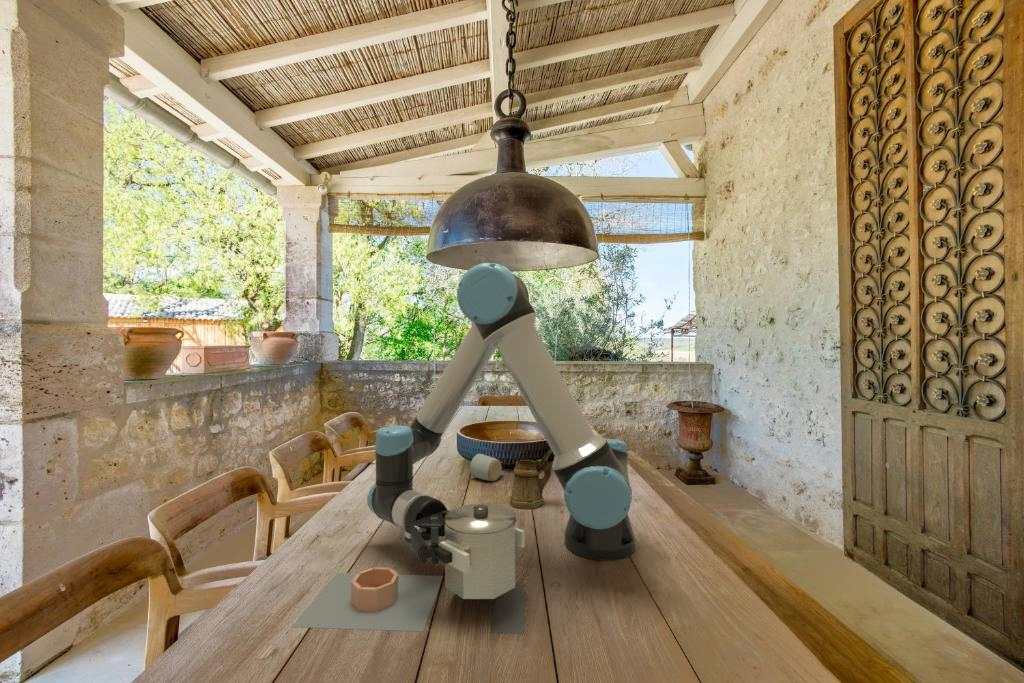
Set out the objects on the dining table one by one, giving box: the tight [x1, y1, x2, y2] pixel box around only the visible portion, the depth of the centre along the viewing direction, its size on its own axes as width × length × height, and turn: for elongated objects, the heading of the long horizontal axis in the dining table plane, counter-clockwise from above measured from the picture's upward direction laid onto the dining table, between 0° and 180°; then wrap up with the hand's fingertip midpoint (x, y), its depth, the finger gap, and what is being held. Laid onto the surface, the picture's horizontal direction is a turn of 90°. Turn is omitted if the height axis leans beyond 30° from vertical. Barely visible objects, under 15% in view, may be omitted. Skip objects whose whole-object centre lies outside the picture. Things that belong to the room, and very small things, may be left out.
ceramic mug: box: [469, 453, 504, 482], centre depth 147 cm, size 11×8×8 cm
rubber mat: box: [489, 583, 526, 635], centre depth 75 cm, size 14×14×1 cm
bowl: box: [351, 566, 399, 612], centre depth 76 cm, size 7×7×4 cm
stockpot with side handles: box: [444, 502, 517, 600], centre depth 75 cm, size 12×12×12 cm
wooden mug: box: [509, 448, 553, 510], centre depth 124 cm, size 9×14×18 cm, turn 76°
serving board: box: [291, 572, 444, 633], centre depth 76 cm, size 20×16×1 cm
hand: (497, 551), depth 73 cm, fingers closed on stockpot with side handles, 11 cm apart
